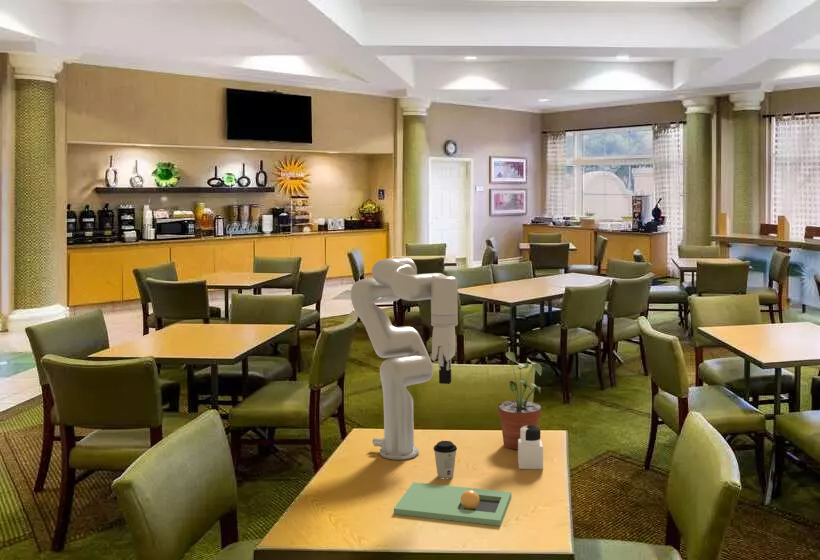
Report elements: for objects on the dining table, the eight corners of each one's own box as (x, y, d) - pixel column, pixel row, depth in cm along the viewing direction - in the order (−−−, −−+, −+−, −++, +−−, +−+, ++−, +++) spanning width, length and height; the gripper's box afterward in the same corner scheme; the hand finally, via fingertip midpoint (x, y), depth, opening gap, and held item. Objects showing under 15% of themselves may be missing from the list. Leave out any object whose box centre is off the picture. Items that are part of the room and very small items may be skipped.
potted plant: (534, 456, 228) (534, 347, 224) (490, 448, 236) (490, 343, 232) (552, 442, 241) (552, 339, 237) (509, 434, 249) (509, 335, 245)
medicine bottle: (541, 461, 224) (541, 423, 223) (543, 469, 217) (543, 431, 216) (517, 460, 225) (517, 423, 223) (519, 469, 218) (519, 430, 216)
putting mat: (393, 513, 188) (393, 508, 188) (413, 487, 206) (413, 482, 205) (500, 526, 180) (500, 520, 180) (511, 497, 198) (511, 492, 197)
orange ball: (478, 512, 186) (459, 507, 187) (476, 511, 191) (457, 507, 191) (482, 492, 188) (463, 488, 188) (480, 492, 193) (461, 488, 193)
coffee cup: (455, 481, 209) (455, 448, 208) (431, 480, 210) (431, 447, 209) (458, 472, 216) (458, 440, 215) (435, 471, 217) (435, 439, 216)
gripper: (438, 315, 213) (439, 376, 215) (424, 323, 198) (425, 389, 201) (463, 315, 211) (463, 377, 213) (451, 324, 196) (452, 390, 198)
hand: (445, 382), depth 207 cm, fingers closed
